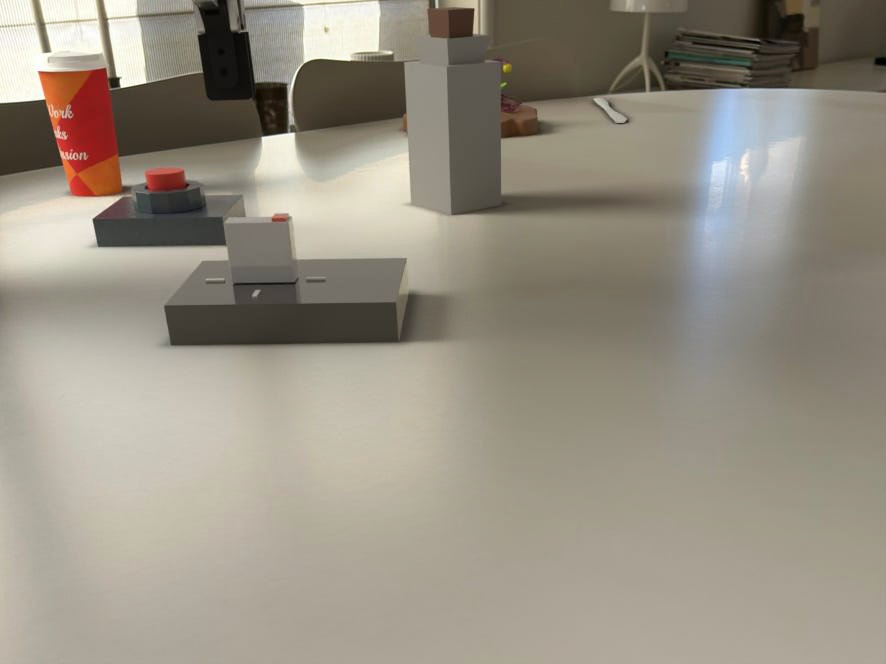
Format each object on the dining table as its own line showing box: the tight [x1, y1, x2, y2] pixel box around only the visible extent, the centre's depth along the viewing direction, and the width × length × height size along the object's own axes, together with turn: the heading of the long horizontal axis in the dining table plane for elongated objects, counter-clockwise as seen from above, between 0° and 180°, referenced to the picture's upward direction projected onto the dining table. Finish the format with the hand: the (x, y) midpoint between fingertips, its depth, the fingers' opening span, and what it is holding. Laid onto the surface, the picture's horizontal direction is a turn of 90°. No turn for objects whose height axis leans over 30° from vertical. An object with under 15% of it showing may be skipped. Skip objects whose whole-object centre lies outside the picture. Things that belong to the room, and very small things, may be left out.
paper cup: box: [33, 50, 123, 198], centre depth 116 cm, size 8×8×14 cm
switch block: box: [91, 179, 247, 248], centre depth 101 cm, size 12×10×4 cm
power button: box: [144, 166, 187, 191], centre depth 100 cm, size 4×4×2 cm
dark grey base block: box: [163, 257, 410, 346], centre depth 78 cm, size 16×12×3 cm
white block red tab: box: [224, 212, 298, 283], centre depth 76 cm, size 5×2×4 cm, turn 90°
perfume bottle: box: [403, 6, 502, 216], centre depth 107 cm, size 7×7×18 cm
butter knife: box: [593, 97, 628, 124], centre depth 168 cm, size 1×27×3 cm
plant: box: [402, 56, 539, 139], centre depth 153 cm, size 20×20×11 cm
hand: (232, 98), depth 74 cm, fingers closed
